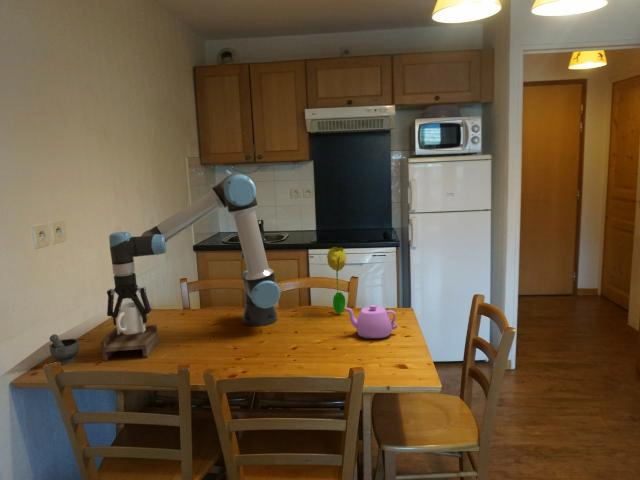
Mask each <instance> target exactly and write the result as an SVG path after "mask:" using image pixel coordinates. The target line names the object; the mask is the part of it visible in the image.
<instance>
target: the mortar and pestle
mask: <svg viewBox="0 0 640 480" xmlns="http://www.w3.org/2000/svg"><path fill="white" fill-rule="evenodd" d="M49 341H50V342H52V343H51V344H49V345H48V346H49V352H50V354H51V355H50V356H52V357H53V358H54V359H55V360H56V361H57V362H60V363H61V364H62V365H63V366H64V365H69V364H72V363H74V362H76V359H77V358H76V355H77V354H78V353H79V349H80V348H79V347H80V343H79V339H78V338H77V339H76V338H66V339H62V340H61V339H60V338H59V335H58V334H56V333H55V334H52V335H50V337H49ZM62 365H61V366H62Z"/></svg>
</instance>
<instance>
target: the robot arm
mask: <svg viewBox="0 0 640 480" xmlns="http://www.w3.org/2000/svg"><path fill="white" fill-rule="evenodd" d="M256 195H257V187H256V184H255V183H254V182H253V180H252V179H251V178H250V177H249V176H247V175H245V174H240V173H239V174H234V173H233V174H230V175H227V176H226V177H225V178H224V179H222V180H221V181H220V182H218V183H217V184H216V185H214V186H213V187H211V188H210V191H209V192H208V193H206V194H205V195H203V196H202V197H200V198H198V199H197V200H195V201H193V202H192V203H190V204H189V205H188V206H186V207H184V208H182V209H181V210H179V211H178V212H176V213H174V214H173V215H171V216H169V217H168V218H166V219H165V220H162V221H161V222H160V223H158V224H157V225H155V226H154V227H152V228H150V229H149V230H148V229H147V230H146V231H144V232H142V234H141V235H138V236H132V234H131V231H118V232H113V233H111V234H109V236H108V238H109V251H110V257H111V263H112V265H111V266H112V274H113V275H114V276H113V281H114V288H110V289H108V290H107V291H106V293H107V312H106V314H107V315H106V316H107V317H111V318H112V322H113V325H114V326H115V327H116V328H117V325H116V321H117V317H118V315H119V308H120V306H121V305H122V304H123V301H124V299H131V301H132V302H134V303H135V305H136V306H137V308H138V310H139V311H140V313H141V315H140V324H141V332H142V333H144V332H145V330H146V328H145V325H146V324H147V322H148V316H147V314H149V313H150V312H151V311H152V308H151V305H150V302H149V298H148V295H147V288H146V286H143V287H142V286H141V287H140V286H138V283H137V275H136V269H135V261H134V260H135V259H134V258H137V257H145V256H158V255H163V254H166V253H167V244H166V242H169V240H172V239H173V238H174V237H176V236H178V235H180V233H182V232H184V231H185V230H187V229H189V228H190V227H192V226H193V225H195V224H197V223H198V222H200V221H201V220H203V219H205V218H207V217H208V216H210V215H212V214H213V213H214V212H216V211H217V210H220V209H226V208H227V211H228V213H229V214H230V215H232V216H233V219H234V222H235V227H236V230H237V234H238V238H239V244H240V246H241V250H242V253H243V254H242V255H243V257H244V258H243V259H244V262H245V267H246V270H244V271H243V272H242V279H243V291H244V292H243V293H244V302H245V306H244V310H243V313H242V323H243V324H244V325H246V326H248V327H249V326H251V327H261V326H267V325H271V324H274V323H275V322H277V321H278V313H277V310H276V308H275V305H277V303H278V302H279V300H280V297H281V288H280V286H279V285H278V284H277V280H276V276H275V271H274V270H273V269H272V268H270V267H269V264H268V259H267V254H266V251H265V250H266V249H265V247H264V243H263V237H262V234H261V231H260V226H259V222H258V217H257V213H256V210H257V207H259V206H258V201H257V196H256ZM137 293H139V294H140V297H141V300H140V299H139V296H138V294H137ZM115 294H117V296H118V297H117V299H116V303H115V307H114V300H115ZM141 301H142V302H141ZM120 325H121V323H120ZM117 333H118V334H120V333H121V331H119V330H118V328H117Z"/></svg>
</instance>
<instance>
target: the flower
mask: <svg viewBox="0 0 640 480" xmlns="http://www.w3.org/2000/svg"><path fill="white" fill-rule="evenodd" d="M346 255H347V254H346V249H344V248H343V247H338V246H333V247H331V248H328V250H327V255H326V256H327V257H326V258H327V264H328V267H329V268H330V269H332V270H333V271H336V275H335V276H336V288H337V289H336V291H337V292H336V293H335V294H334V295H333V298H332V306H333V310H334V312H335V313H337V314H339V315H341V314H342V313H344V311H345V308H344V307H346V297H345V295H344V294H343V293H342V292H341V291H340V292H339V279H338V278H339V274H338V273H339V271H342V270H343V268H344V267H345V266H346V263H347V262H346V261H347V256H346Z"/></svg>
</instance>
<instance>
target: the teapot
mask: <svg viewBox="0 0 640 480" xmlns="http://www.w3.org/2000/svg"><path fill="white" fill-rule="evenodd" d="M344 310H346V311H347V312H348V315H349V319H350V323H351V325H352V326H353V327H354V328H355V329H356V333H357V335H359V337H360V338H361V337H362V338H365V339H384V338H387V337H389V336H390V334H391V333H392V331H393V330H396V329H398V325H397V323H395V321H396V317H397V315H396V312H395V311H394V310H392V309H388V310H387V309H386V308H385V307H383V306H378V305H376V304H370V305H369V306H366V307H363V308H361V309H360V312H359V314H358V316H357V318H356V317H355V315H354V312H353V309H352V308H350V307H347V306H345V307H344ZM389 313H390V314H392V315H393V316H392V317H393V318H392V320H391V317H390V315H389Z"/></svg>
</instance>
